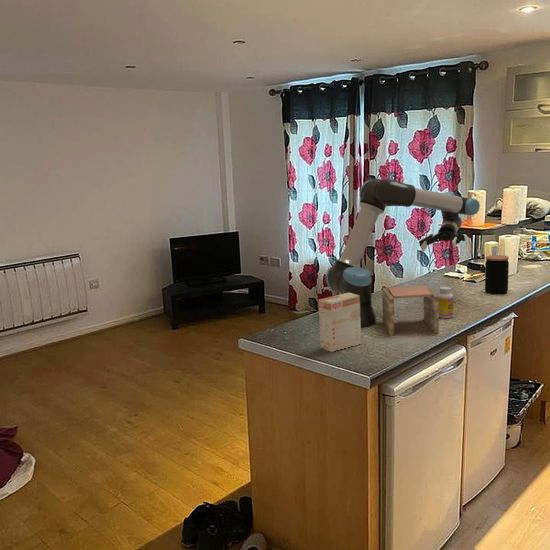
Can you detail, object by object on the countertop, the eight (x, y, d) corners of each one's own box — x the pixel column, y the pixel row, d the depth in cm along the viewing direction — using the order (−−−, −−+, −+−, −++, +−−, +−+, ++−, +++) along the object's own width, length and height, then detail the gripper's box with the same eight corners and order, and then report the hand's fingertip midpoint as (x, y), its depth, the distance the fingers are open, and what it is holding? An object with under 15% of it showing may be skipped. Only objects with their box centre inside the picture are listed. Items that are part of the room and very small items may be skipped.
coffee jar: (512, 292, 274) (513, 256, 271) (499, 296, 269) (500, 259, 265) (493, 288, 283) (494, 254, 279) (480, 292, 277) (481, 257, 274)
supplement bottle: (448, 319, 237) (449, 290, 234) (434, 317, 241) (434, 288, 238) (455, 315, 241) (455, 287, 239) (441, 313, 246) (441, 285, 243)
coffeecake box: (350, 340, 218) (348, 292, 214) (362, 344, 212) (360, 295, 208) (319, 348, 210) (317, 299, 206) (331, 353, 204) (329, 302, 200)
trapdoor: (393, 298, 220) (393, 296, 220) (387, 289, 235) (387, 287, 235) (431, 296, 219) (431, 294, 219) (423, 287, 234) (423, 285, 234)
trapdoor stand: (390, 335, 220) (389, 299, 217) (382, 321, 239) (382, 287, 236) (438, 333, 219) (438, 296, 216) (427, 319, 238) (427, 285, 235)
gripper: (477, 235, 252) (468, 251, 235) (423, 242, 266) (411, 258, 249) (474, 219, 250) (465, 235, 233) (420, 227, 263) (408, 242, 247)
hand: (437, 247), depth 241 cm, fingers open, 13 cm apart
